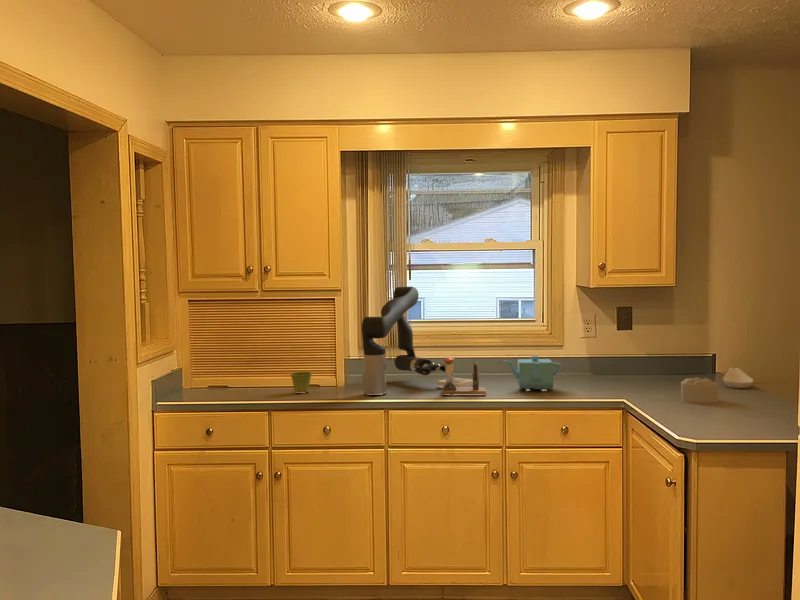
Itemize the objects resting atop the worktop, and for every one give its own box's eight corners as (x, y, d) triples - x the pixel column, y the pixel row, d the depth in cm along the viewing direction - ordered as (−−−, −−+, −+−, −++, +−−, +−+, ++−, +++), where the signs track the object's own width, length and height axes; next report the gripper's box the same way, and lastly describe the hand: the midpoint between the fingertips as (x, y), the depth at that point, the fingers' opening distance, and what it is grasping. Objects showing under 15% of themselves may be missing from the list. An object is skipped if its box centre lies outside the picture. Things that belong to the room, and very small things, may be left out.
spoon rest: (756, 390, 298) (756, 373, 298) (725, 390, 301) (725, 373, 301) (745, 381, 321) (745, 365, 320) (716, 381, 324) (716, 365, 324)
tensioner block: (485, 395, 297) (485, 363, 297) (442, 396, 299) (441, 364, 298) (484, 391, 307) (484, 360, 307) (442, 392, 309) (442, 361, 308)
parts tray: (459, 390, 313) (459, 383, 312) (437, 387, 320) (437, 381, 320) (474, 386, 322) (474, 379, 322) (453, 384, 329) (452, 377, 329)
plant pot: (314, 393, 312) (314, 373, 311) (293, 395, 308) (293, 375, 308) (309, 390, 320) (308, 371, 320) (288, 392, 317) (288, 372, 316)
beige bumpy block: (680, 398, 284) (680, 376, 284) (716, 399, 280) (716, 377, 279) (682, 402, 274) (682, 380, 274) (719, 404, 270) (719, 381, 270)
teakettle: (565, 389, 308) (565, 355, 308) (537, 395, 296) (537, 359, 296) (531, 385, 323) (530, 352, 322) (503, 390, 311) (502, 356, 310)
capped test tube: (450, 390, 300) (450, 359, 300) (442, 389, 303) (441, 359, 303) (456, 389, 304) (456, 358, 303) (448, 388, 307) (447, 357, 306)
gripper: (407, 358, 324) (423, 362, 309) (435, 356, 330) (452, 360, 315) (407, 375, 324) (424, 380, 309) (435, 373, 330) (452, 377, 315)
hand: (438, 370), depth 312 cm, fingers open, 8 cm apart
